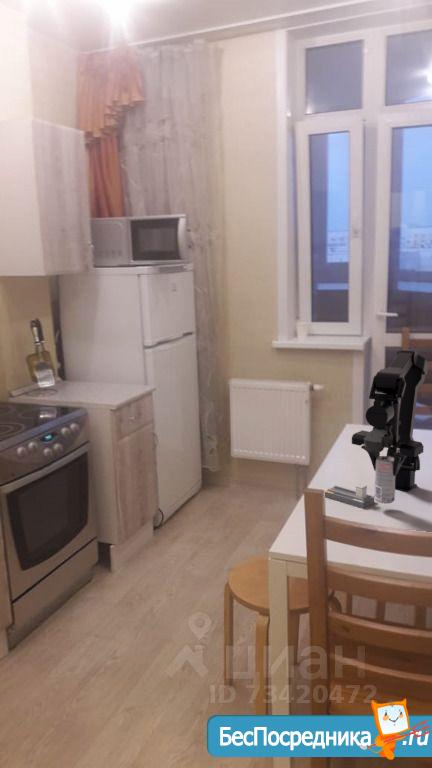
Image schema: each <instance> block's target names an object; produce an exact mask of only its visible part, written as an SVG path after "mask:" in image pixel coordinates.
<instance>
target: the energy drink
mask: <svg viewBox="0 0 432 768" xmlns="http://www.w3.org/2000/svg"><path fill="white" fill-rule="evenodd" d="M393 467H394V458H393V457H390V456H387V455H380V456H379V457H377V459H376V470H374V472H375V473H374V474H375V475H374V501H376V502H377V503H379V504H392V503H393V502H395V500H396V499H395V497H396V495H395V494H396V489H395V476H394V475H393Z"/></svg>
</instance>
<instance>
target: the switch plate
mask: <svg viewBox="0 0 432 768" xmlns="http://www.w3.org/2000/svg"><path fill="white" fill-rule="evenodd" d="M324 491H325V497H324V498H328V499H332V500H334V501H339V502H341V503H345V504H347V505H352V506H355V507H359V508H362V509H364V508H366V507H368V506H369V505H371V504H373V503H375V496H373V495H371V494H367V493H366V498H364V499H363V498H359V497H356V490H353V489H350V488H346V487H342V486H339V485H333V486H332V487H330V488H327V490H324Z"/></svg>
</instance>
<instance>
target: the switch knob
mask: <svg viewBox="0 0 432 768" xmlns="http://www.w3.org/2000/svg"><path fill="white" fill-rule="evenodd" d="M367 487H368V485H366V484H362V483H360V484H358V485H356V486H355V491H356V497H359V498H363V499H364V498H366V494H367V489H368V488H367Z"/></svg>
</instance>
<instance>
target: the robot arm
mask: <svg viewBox="0 0 432 768" xmlns="http://www.w3.org/2000/svg"><path fill="white" fill-rule="evenodd" d="M428 363H429V362H428V360H427V359H426V358H425V357H424V356H422V355H420V354H418V352H417V351H415V350H411V349H400V350H398V351H397V354H396V357H394V359H393V361H391V364H390V365H389V366H388V367H386V368H381V369H380V370H379V371H377V372H376V373H375V374H376V375H374V376H373V378H372V383H371V387H370V393H369V394H368V395H369V396H368V399H369V400H373V405H371V406H369V408H368V409H367V410H366V412H365V419H366V422H367V423H368V424H369V425H370V426H371V427H372V429H371V430H370V431H368V430H359V431H358V432H355V433H353V435H352V436H351V444H352V445H355V446H359V447H360V446H361V447H360V448H361V449H362V450H365V452H367V454H368V456H369V459H370V461H371V464H372V467H373V470H374V471H375V470H376V459H377V457H379V456H381V452H383V451H384V449H385V448H386V449H387V450H386V456H390V457H393V458H394V467H393V475H394V476H395V490H400V491H403V492H409V491H411V490H413V489H414V488H416V487H418V484H417V483H415V482H416V481H415V480H416V472H417V471H420V470H421V459H420V454H423V453H424V447H425V446H424V444H423V443H422V442H421V441H416V440H415V439H414V437H413V433H414V425H415V424H414V423H415V416H416V407H417V399H418V392H419V388H420V387H421V386H422V384H423V383H424V382H425V380H426V379H425V378H426V376H427V374H428V370H429V364H428Z"/></svg>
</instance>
